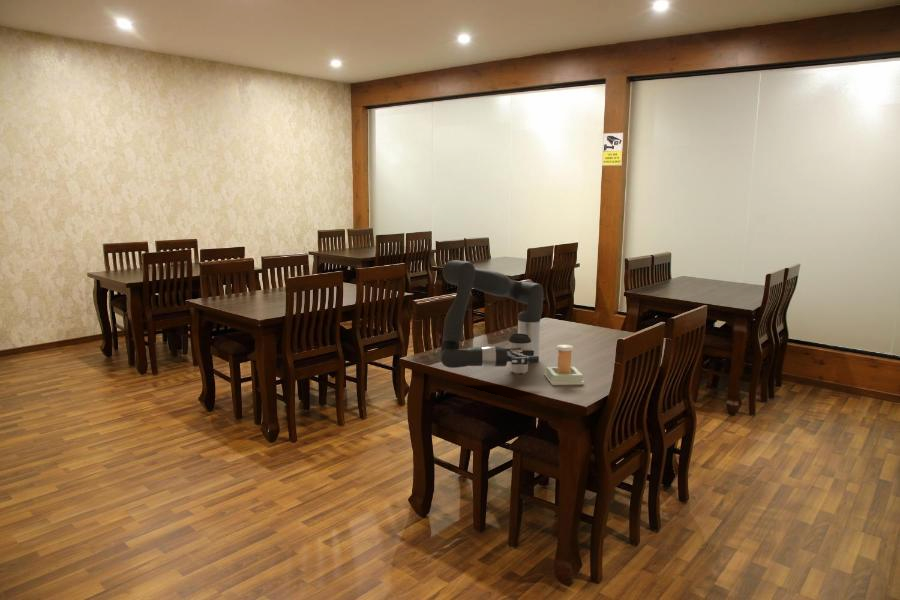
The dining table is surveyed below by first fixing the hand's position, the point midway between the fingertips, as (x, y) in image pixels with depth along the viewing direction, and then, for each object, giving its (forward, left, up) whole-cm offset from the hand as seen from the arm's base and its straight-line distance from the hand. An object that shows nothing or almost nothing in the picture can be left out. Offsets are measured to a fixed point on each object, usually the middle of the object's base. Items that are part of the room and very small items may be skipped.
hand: (536, 355), depth 225 cm
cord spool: (0, +11, -8) cm, 14 cm away
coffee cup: (-12, -4, -10) cm, 16 cm away
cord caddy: (0, +11, -9) cm, 15 cm away
